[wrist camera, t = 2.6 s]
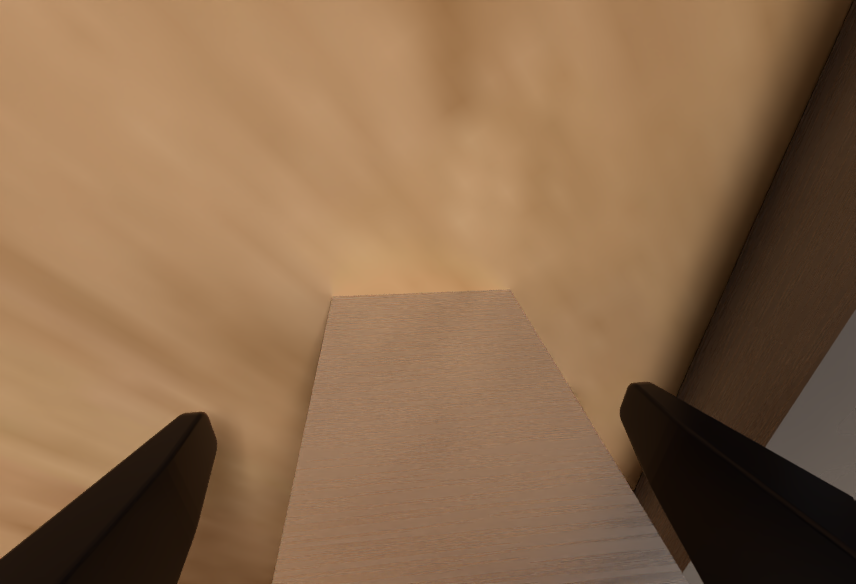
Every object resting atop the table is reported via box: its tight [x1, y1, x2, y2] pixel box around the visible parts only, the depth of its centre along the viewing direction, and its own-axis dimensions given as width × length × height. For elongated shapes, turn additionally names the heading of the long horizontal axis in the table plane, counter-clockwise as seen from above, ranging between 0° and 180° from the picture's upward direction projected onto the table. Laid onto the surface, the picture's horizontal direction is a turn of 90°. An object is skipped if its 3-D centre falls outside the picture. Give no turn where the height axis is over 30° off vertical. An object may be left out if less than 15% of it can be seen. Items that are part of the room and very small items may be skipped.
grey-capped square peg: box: [272, 290, 689, 584], centre depth 7 cm, size 4×4×7 cm
